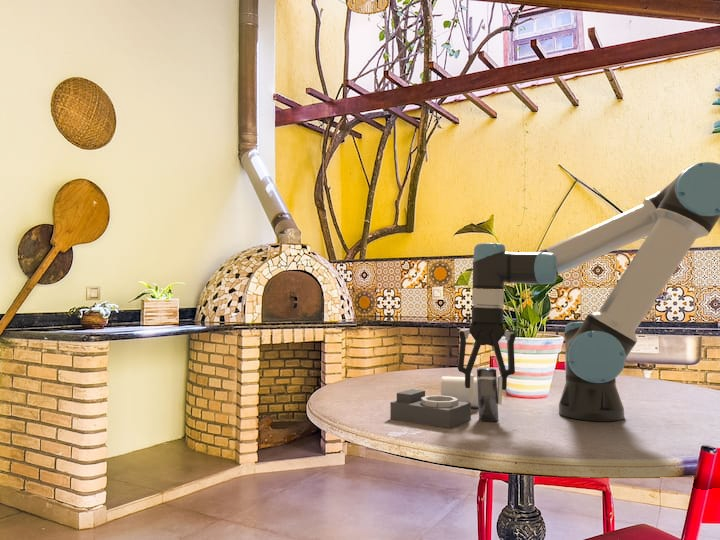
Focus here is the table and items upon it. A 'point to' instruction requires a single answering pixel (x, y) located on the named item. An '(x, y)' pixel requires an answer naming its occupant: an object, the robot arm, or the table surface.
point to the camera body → (429, 409)
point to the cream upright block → (459, 389)
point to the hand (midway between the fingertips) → (485, 402)
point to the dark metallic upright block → (487, 394)
